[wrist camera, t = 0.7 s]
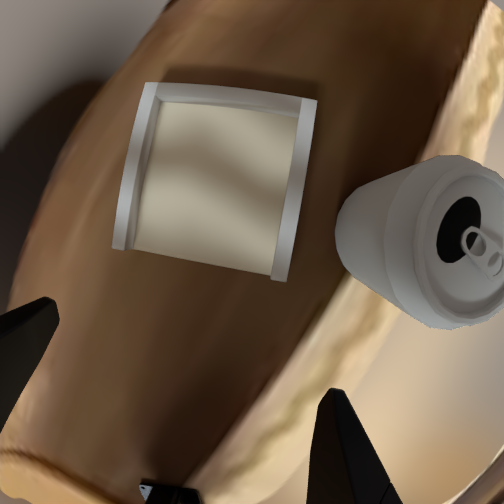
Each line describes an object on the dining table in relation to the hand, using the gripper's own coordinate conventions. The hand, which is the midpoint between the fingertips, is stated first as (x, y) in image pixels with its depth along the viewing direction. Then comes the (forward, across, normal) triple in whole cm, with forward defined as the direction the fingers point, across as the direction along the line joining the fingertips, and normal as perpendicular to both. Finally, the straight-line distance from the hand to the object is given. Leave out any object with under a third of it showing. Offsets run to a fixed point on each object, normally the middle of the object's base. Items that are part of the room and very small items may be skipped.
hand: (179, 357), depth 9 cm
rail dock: (+15, +3, 0) cm, 15 cm away
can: (+15, -10, 0) cm, 18 cm away
